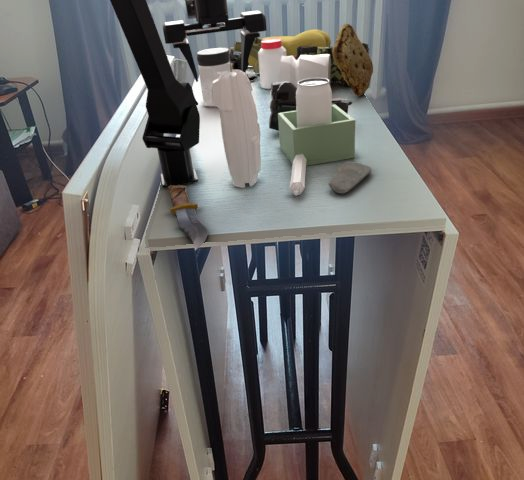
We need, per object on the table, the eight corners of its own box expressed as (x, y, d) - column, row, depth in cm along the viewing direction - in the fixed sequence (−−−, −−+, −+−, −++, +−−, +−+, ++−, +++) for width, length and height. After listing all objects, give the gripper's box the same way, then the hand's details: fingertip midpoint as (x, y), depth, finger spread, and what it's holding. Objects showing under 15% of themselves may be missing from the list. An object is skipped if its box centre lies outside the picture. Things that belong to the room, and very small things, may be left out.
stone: (348, 157, 95) (375, 164, 93) (347, 165, 96) (373, 172, 95) (323, 182, 87) (352, 190, 86) (322, 190, 88) (350, 199, 87)
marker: (295, 205, 87) (298, 168, 99) (306, 199, 86) (308, 162, 98) (286, 193, 86) (290, 156, 98) (297, 186, 85) (300, 150, 97)
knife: (211, 243, 76) (176, 249, 75) (212, 252, 77) (178, 258, 76) (193, 179, 95) (165, 183, 94) (195, 186, 95) (167, 191, 95)
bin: (354, 157, 100) (355, 119, 96) (294, 167, 99) (292, 129, 94) (335, 139, 109) (335, 104, 105) (280, 148, 108) (277, 113, 103)
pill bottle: (256, 85, 151) (252, 41, 144) (280, 80, 153) (277, 36, 146) (267, 90, 145) (264, 44, 138) (293, 85, 147) (290, 39, 140)
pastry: (372, 102, 139) (382, 98, 137) (335, 92, 126) (346, 87, 124) (362, 33, 137) (372, 28, 135) (324, 15, 124) (335, 9, 122)
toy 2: (237, 79, 172) (319, 69, 155) (230, 47, 166) (314, 33, 150) (260, 67, 180) (340, 57, 164) (254, 36, 175) (336, 22, 158)
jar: (196, 106, 139) (188, 54, 131) (213, 97, 144) (207, 47, 137) (225, 108, 135) (218, 54, 127) (242, 99, 140) (236, 47, 133)
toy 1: (210, 87, 156) (233, 71, 165) (233, 89, 154) (254, 73, 163) (208, 59, 151) (231, 44, 160) (231, 61, 148) (253, 46, 158)
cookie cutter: (229, 45, 157) (230, 38, 156) (264, 43, 162) (265, 36, 161) (258, 77, 149) (259, 70, 148) (294, 74, 154) (295, 67, 153)
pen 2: (347, 102, 129) (347, 100, 128) (270, 107, 133) (269, 104, 132) (347, 99, 130) (347, 96, 128) (270, 103, 133) (269, 101, 132)
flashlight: (228, 193, 92) (269, 185, 93) (212, 80, 81) (259, 72, 82) (220, 180, 97) (259, 172, 98) (204, 72, 86) (248, 64, 87)
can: (329, 155, 100) (329, 85, 92) (295, 155, 101) (292, 86, 94) (333, 143, 105) (333, 76, 97) (300, 144, 106) (298, 78, 99)
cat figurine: (263, 132, 125) (338, 137, 127) (269, 130, 112) (352, 136, 114) (265, 85, 122) (342, 91, 124) (272, 78, 109) (358, 85, 111)
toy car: (295, 88, 143) (301, 80, 151) (366, 85, 139) (369, 78, 146) (294, 48, 137) (300, 42, 145) (368, 44, 133) (371, 38, 141)
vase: (328, 99, 136) (281, 100, 139) (331, 81, 141) (286, 82, 144) (327, 64, 129) (278, 66, 132) (330, 46, 134) (283, 49, 137)
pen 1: (215, 86, 150) (216, 91, 151) (218, 86, 149) (219, 91, 149) (255, 74, 156) (256, 79, 156) (258, 74, 154) (259, 78, 155)
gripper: (253, -28, 101) (260, 63, 111) (154, -16, 99) (171, 76, 109) (263, -25, 92) (270, 74, 102) (155, -11, 91) (173, 88, 101)
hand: (220, 78), depth 104 cm, fingers open, 9 cm apart
